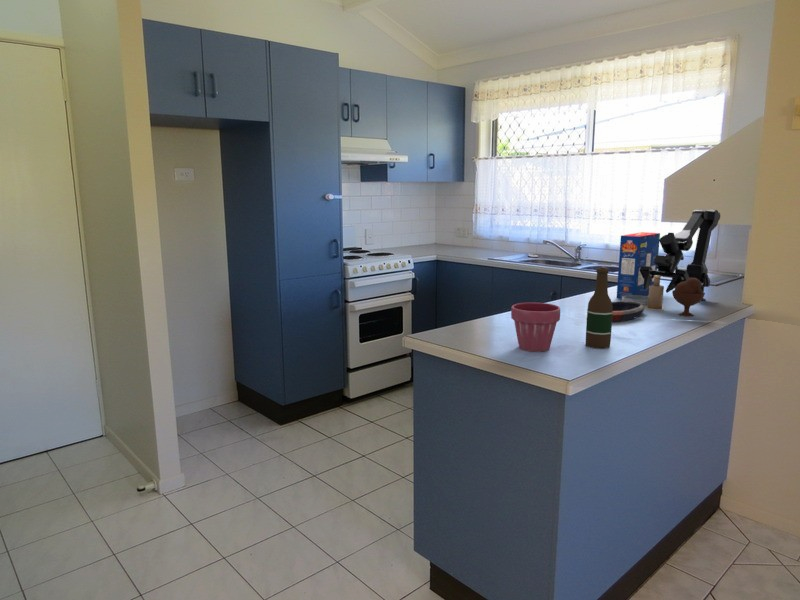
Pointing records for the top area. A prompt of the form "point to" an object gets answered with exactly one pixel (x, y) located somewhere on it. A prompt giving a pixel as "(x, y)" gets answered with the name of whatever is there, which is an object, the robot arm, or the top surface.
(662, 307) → the coaster
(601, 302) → the beer bottle
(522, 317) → the plant pot
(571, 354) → the top surface
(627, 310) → the dish
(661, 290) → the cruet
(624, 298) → the slate dish
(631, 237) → the pasta box
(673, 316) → the top surface
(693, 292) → the ice cream bowl
